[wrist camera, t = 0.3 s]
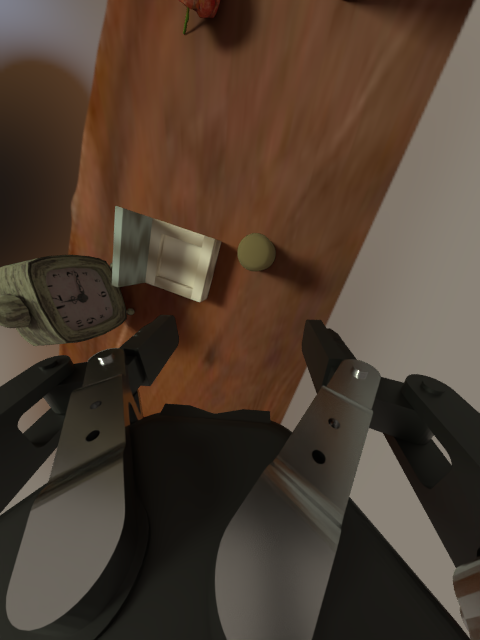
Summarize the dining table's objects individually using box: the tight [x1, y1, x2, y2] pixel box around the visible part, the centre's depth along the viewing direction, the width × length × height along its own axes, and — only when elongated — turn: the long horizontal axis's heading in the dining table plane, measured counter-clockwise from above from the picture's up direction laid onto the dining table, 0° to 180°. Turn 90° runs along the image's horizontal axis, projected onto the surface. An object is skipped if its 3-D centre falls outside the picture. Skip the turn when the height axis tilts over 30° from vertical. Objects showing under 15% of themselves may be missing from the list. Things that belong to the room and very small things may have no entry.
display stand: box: [112, 206, 221, 302], centre depth 33 cm, size 12×13×11 cm
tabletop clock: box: [0, 255, 134, 346], centre depth 32 cm, size 14×9×25 cm, turn 9°
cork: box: [238, 233, 276, 271], centre depth 30 cm, size 6×6×11 cm
